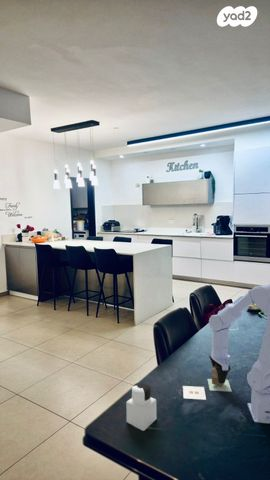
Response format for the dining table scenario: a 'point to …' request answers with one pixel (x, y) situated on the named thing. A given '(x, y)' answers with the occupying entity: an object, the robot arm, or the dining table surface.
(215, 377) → the walnut block
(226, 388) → the sage mat
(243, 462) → the dining table surface
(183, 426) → the dining table surface
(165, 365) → the dining table surface
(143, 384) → the medicine bottle
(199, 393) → the white tile
